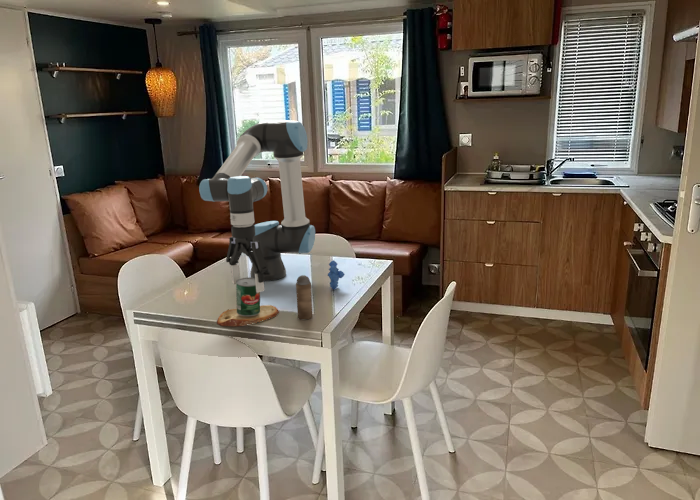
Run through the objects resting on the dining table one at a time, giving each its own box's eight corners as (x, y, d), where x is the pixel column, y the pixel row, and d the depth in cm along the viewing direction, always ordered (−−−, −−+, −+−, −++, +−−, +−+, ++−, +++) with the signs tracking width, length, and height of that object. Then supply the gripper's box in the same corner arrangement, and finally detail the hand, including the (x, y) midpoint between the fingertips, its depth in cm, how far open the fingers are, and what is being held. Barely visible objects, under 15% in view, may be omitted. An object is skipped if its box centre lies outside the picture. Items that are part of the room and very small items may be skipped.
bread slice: (282, 311, 197) (282, 301, 197) (262, 331, 181) (261, 320, 180) (236, 308, 202) (235, 298, 201) (212, 327, 185) (211, 316, 184)
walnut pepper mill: (294, 317, 190) (292, 275, 186) (306, 313, 193) (303, 272, 190) (304, 320, 186) (302, 278, 183) (315, 316, 190) (313, 275, 186)
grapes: (345, 293, 213) (344, 263, 210) (327, 294, 213) (326, 263, 210) (345, 284, 224) (344, 255, 221) (328, 285, 224) (326, 256, 221)
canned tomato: (247, 305, 194) (247, 275, 191) (265, 311, 191) (265, 280, 187) (231, 312, 188) (231, 282, 185) (249, 318, 184) (249, 287, 181)
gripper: (212, 222, 187) (218, 282, 192) (256, 232, 169) (261, 298, 175) (231, 218, 192) (236, 277, 197) (275, 227, 175) (280, 292, 180)
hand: (248, 287), depth 186 cm, fingers open, 13 cm apart
